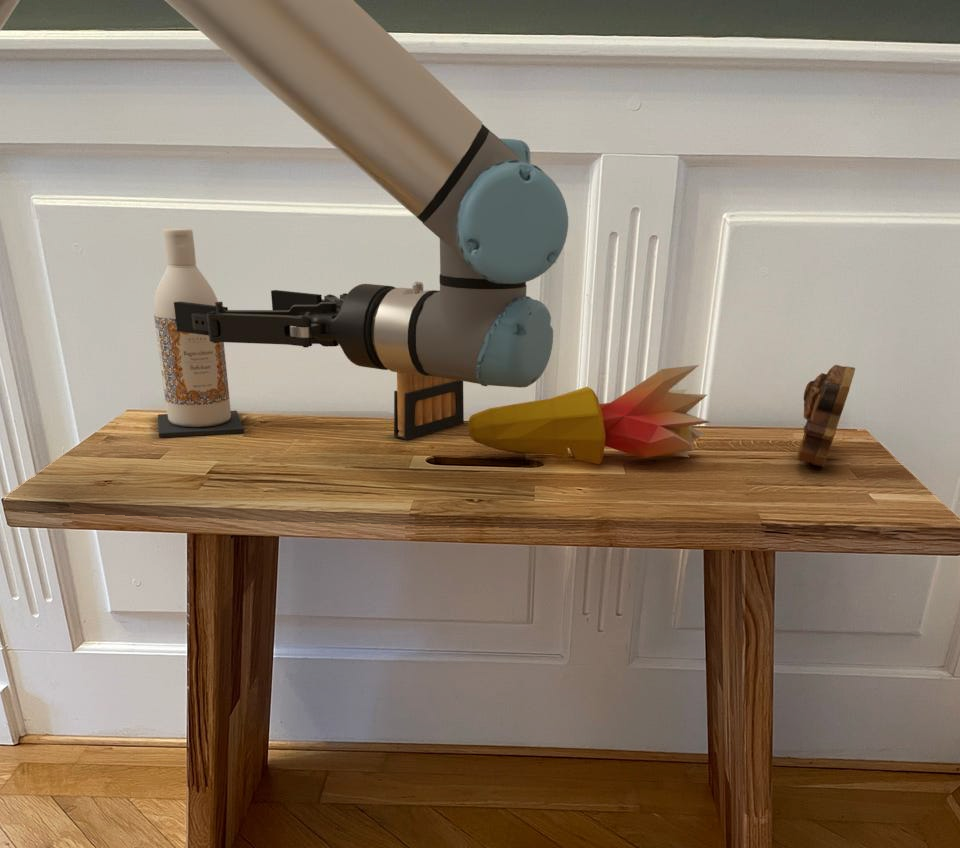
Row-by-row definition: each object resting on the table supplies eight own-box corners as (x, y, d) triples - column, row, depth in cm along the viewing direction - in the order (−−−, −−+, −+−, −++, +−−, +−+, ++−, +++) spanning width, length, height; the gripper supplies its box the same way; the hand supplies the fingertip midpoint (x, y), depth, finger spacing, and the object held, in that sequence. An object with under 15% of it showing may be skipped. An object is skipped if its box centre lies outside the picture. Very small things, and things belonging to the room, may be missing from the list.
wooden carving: (792, 441, 103) (809, 350, 99) (834, 445, 102) (853, 353, 98) (790, 481, 89) (809, 377, 85) (839, 486, 88) (861, 381, 84)
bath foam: (174, 431, 99) (148, 230, 90) (163, 417, 105) (137, 227, 96) (238, 425, 102) (218, 230, 93) (223, 412, 108) (204, 227, 99)
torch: (474, 488, 97) (707, 459, 97) (474, 473, 89) (727, 442, 89) (465, 412, 97) (697, 383, 97) (464, 390, 89) (716, 359, 89)
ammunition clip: (406, 440, 100) (404, 326, 94) (393, 437, 101) (391, 324, 95) (464, 422, 108) (465, 316, 102) (451, 420, 109) (452, 314, 103)
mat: (159, 437, 99) (158, 433, 98) (158, 418, 106) (157, 414, 106) (244, 432, 101) (243, 428, 101) (237, 414, 109) (236, 410, 109)
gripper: (465, 276, 93) (306, 263, 103) (300, 298, 74) (125, 279, 84) (464, 352, 96) (310, 332, 106) (306, 392, 77) (137, 363, 87)
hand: (228, 309), depth 95 cm, fingers open, 13 cm apart
